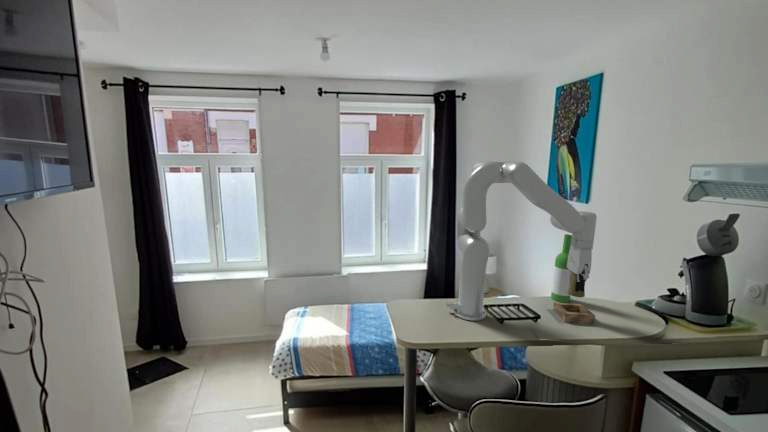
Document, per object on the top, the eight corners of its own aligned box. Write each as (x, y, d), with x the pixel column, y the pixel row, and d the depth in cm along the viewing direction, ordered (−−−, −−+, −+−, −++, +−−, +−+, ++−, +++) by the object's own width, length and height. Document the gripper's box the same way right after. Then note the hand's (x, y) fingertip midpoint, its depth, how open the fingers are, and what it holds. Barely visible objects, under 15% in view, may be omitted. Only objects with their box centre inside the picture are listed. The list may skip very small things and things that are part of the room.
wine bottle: (546, 297, 165) (554, 233, 160) (560, 296, 167) (568, 232, 162) (559, 304, 157) (567, 236, 153) (573, 303, 160) (582, 236, 155)
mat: (558, 323, 138) (558, 322, 138) (545, 310, 150) (545, 309, 150) (596, 326, 137) (596, 325, 137) (580, 312, 150) (580, 311, 150)
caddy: (564, 322, 138) (565, 313, 138) (552, 310, 149) (553, 302, 149) (593, 324, 138) (595, 315, 137) (580, 312, 149) (581, 304, 148)
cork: (586, 298, 139) (590, 270, 137) (569, 296, 140) (573, 268, 138) (581, 292, 144) (585, 266, 143) (565, 291, 146) (568, 264, 144)
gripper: (562, 238, 147) (557, 281, 150) (582, 248, 131) (576, 296, 134) (581, 239, 147) (576, 282, 150) (603, 249, 131) (597, 297, 133)
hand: (576, 288), depth 142 cm, fingers closed on cork, 4 cm apart
